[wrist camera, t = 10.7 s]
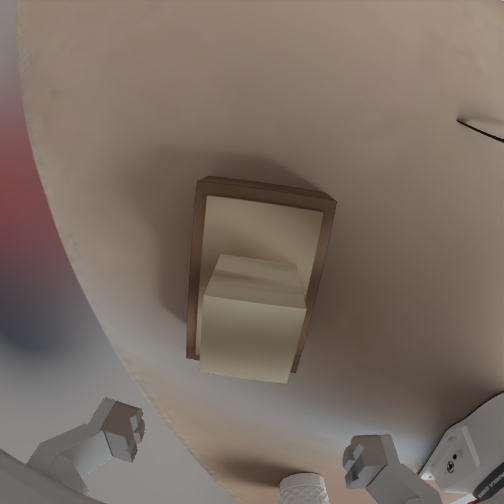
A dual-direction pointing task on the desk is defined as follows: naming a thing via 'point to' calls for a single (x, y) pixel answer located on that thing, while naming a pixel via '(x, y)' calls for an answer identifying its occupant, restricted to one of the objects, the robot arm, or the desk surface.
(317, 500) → the white cup
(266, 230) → the plinth
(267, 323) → the block
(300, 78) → the desk surface
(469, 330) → the desk surface
